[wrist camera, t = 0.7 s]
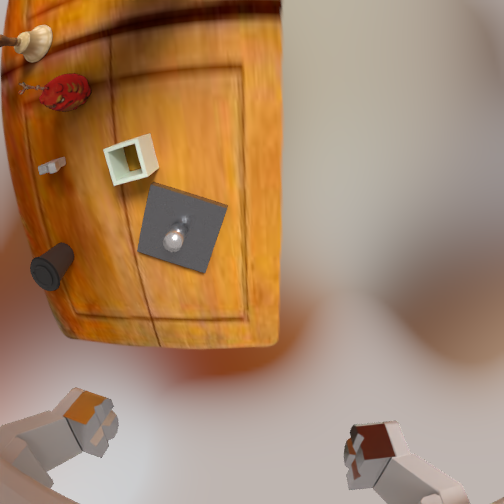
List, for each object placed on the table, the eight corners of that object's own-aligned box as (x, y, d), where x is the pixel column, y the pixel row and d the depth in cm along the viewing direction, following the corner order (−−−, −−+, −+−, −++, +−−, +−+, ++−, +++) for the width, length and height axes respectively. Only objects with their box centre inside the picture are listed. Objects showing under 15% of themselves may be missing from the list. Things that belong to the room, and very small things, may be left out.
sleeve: (118, 143, 46) (103, 149, 41) (150, 133, 46) (137, 138, 41) (127, 176, 49) (113, 185, 44) (159, 167, 49) (147, 176, 44)
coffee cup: (47, 237, 55) (22, 260, 47) (73, 236, 55) (49, 259, 46) (57, 268, 59) (36, 293, 51) (83, 268, 59) (62, 294, 50)
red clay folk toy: (68, 117, 43) (17, 129, 30) (56, 88, 40) (4, 93, 27) (98, 95, 42) (49, 99, 29) (85, 65, 39) (35, 62, 26)
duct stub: (153, 181, 50) (141, 193, 44) (227, 205, 52) (224, 219, 47) (139, 247, 56) (128, 264, 51) (206, 269, 59) (201, 288, 53)
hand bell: (22, 66, 37) (-32, 71, 23) (25, 31, 33) (-27, 28, 19) (51, 56, 37) (-5, 55, 23) (54, 20, 33) (2, 10, 19)
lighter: (51, 169, 48) (28, 181, 41) (49, 161, 47) (26, 172, 40) (77, 161, 48) (54, 172, 41) (76, 152, 47) (52, 163, 40)
